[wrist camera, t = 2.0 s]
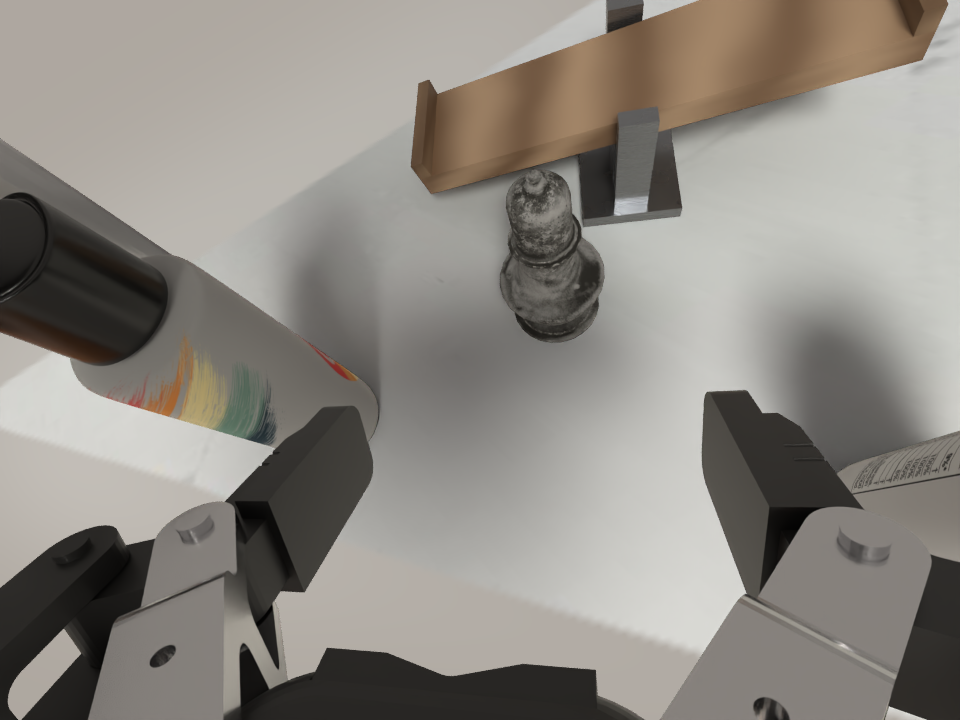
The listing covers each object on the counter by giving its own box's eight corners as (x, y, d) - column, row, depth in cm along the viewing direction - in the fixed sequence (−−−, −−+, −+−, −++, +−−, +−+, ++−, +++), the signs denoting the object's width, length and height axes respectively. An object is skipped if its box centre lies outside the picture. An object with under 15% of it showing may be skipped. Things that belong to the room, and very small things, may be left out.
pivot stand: (583, 226, 32) (580, 142, 25) (576, 102, 36) (571, -1, 29) (680, 216, 31) (703, 123, 24) (661, 88, 34) (677, -23, 28)
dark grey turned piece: (496, 286, 32) (444, 152, 21) (579, 249, 31) (569, 92, 20) (530, 362, 29) (491, 255, 18) (620, 323, 29) (634, 190, 18)
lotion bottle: (326, 365, 33) (-18, 141, 14) (395, 394, 31) (101, 177, 12) (284, 442, 31) (-155, 304, 13) (354, 477, 29) (-45, 373, 11)
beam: (431, 193, 32) (410, 166, 30) (437, 114, 35) (418, 83, 32) (922, 59, 23) (948, 4, 20) (882, -38, 25) (901, -97, 23)
